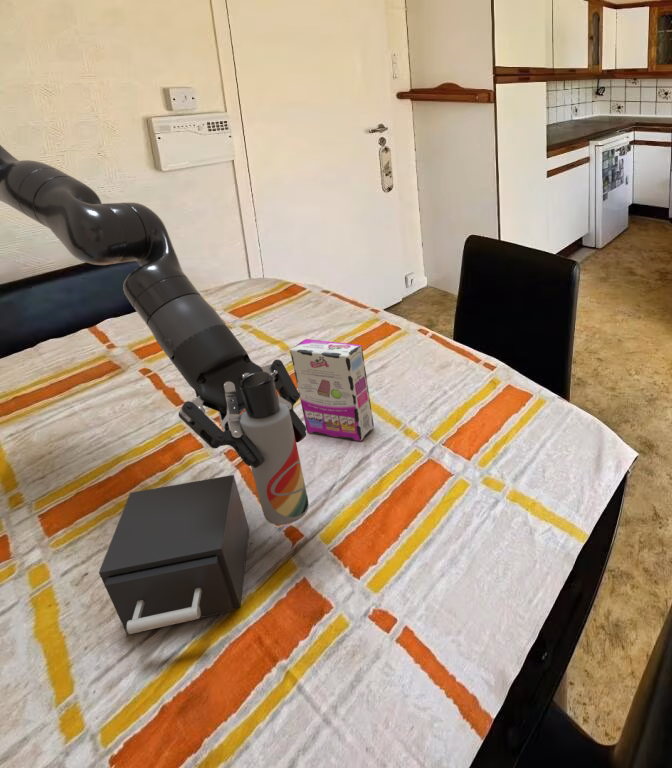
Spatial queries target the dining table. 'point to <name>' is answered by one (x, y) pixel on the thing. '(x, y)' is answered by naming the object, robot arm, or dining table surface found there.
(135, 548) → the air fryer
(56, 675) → the dining table surface
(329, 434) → the candy bar box
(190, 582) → the drawer
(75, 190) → the robot arm
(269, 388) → the lotion bottle
